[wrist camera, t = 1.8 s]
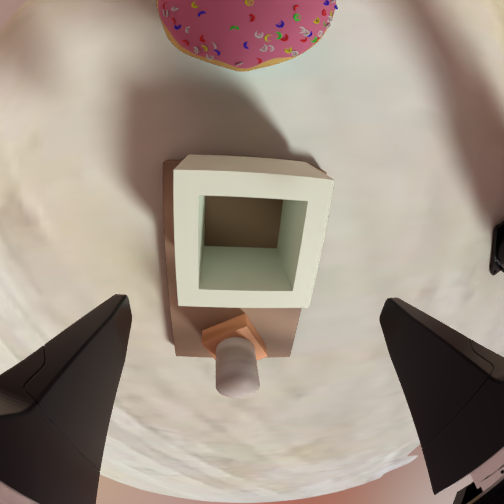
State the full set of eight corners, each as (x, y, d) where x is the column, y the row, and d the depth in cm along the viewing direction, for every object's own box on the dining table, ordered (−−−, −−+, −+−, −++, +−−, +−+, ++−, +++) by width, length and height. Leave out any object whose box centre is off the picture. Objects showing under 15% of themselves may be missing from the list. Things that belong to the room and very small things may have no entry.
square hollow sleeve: (290, 263, 20) (308, 307, 15) (187, 260, 19) (178, 305, 14) (305, 161, 17) (334, 180, 12) (188, 154, 16) (173, 169, 11)
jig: (287, 349, 25) (300, 402, 20) (177, 348, 24) (170, 403, 18) (321, 169, 18) (360, 194, 12) (166, 160, 17) (139, 181, 11)
